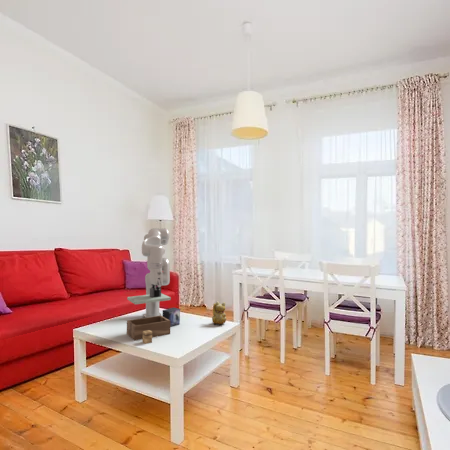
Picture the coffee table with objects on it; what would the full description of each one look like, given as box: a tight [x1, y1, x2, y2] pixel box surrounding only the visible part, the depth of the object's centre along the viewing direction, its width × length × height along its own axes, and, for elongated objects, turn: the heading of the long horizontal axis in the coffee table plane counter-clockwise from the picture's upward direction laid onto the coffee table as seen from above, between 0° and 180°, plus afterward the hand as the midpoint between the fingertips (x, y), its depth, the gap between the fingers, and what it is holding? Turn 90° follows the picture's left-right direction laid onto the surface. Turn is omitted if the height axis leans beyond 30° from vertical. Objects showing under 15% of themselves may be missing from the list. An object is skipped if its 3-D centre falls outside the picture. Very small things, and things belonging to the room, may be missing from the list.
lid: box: [127, 287, 172, 305], centre depth 195 cm, size 14×22×6 cm, turn 125°
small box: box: [161, 307, 181, 328], centre depth 212 cm, size 11×6×10 cm, turn 143°
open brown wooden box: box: [126, 315, 171, 341], centre depth 194 cm, size 14×22×8 cm, turn 125°
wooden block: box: [141, 330, 153, 345], centre depth 180 cm, size 4×4×6 cm
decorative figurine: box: [211, 300, 227, 326], centre depth 216 cm, size 10×8×15 cm
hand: (155, 295), depth 197 cm, fingers closed on lid, 3 cm apart
